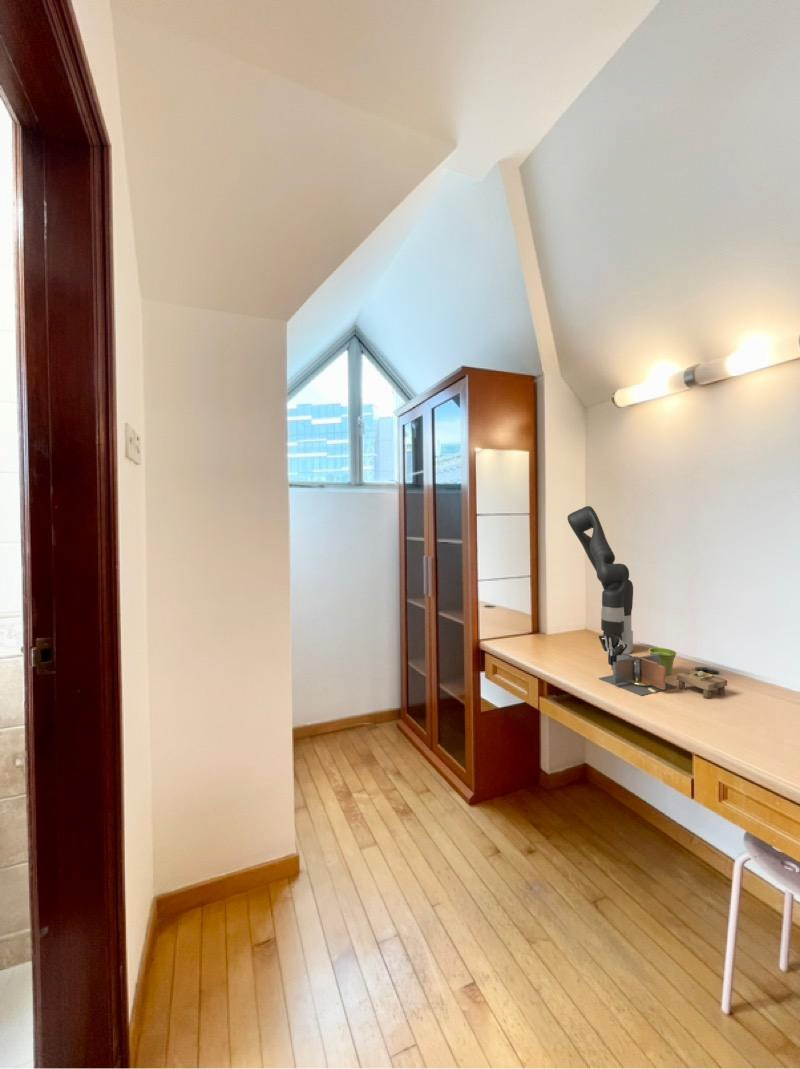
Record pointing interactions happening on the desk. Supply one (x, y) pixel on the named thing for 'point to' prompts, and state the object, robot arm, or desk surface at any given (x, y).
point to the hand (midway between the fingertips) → (612, 664)
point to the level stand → (702, 682)
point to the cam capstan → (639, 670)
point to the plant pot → (664, 658)
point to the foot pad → (637, 687)
